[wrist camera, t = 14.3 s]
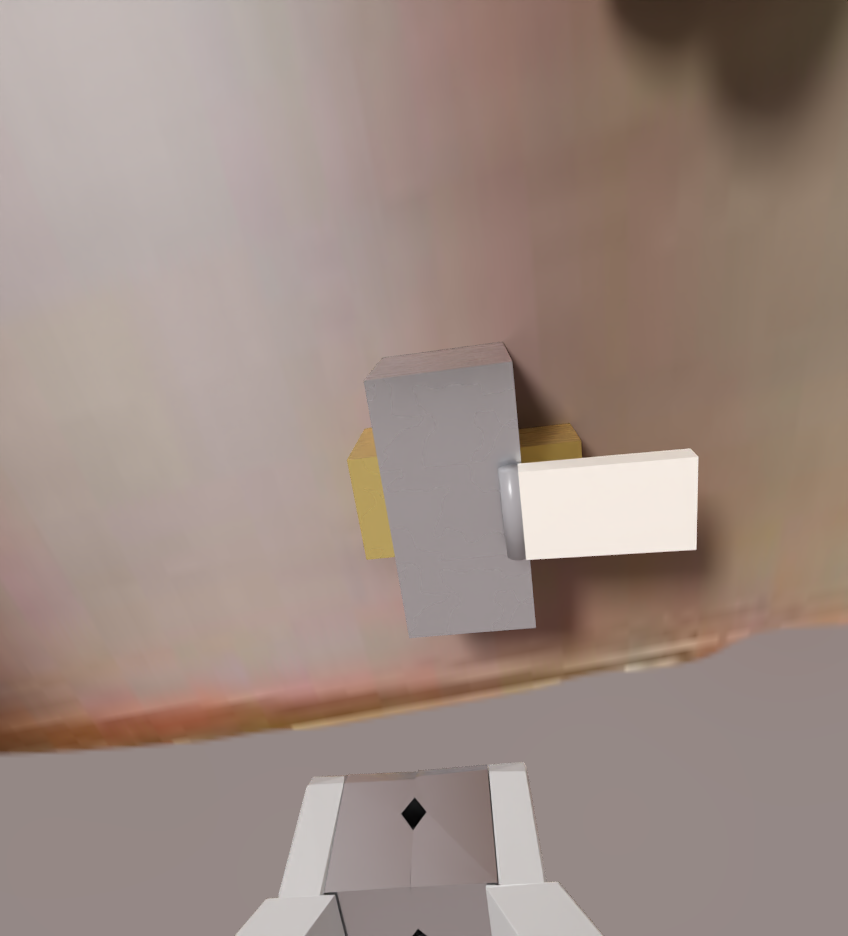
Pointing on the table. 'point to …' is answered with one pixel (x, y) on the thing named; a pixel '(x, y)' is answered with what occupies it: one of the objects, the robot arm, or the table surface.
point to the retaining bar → (600, 505)
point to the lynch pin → (369, 490)
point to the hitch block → (450, 487)
